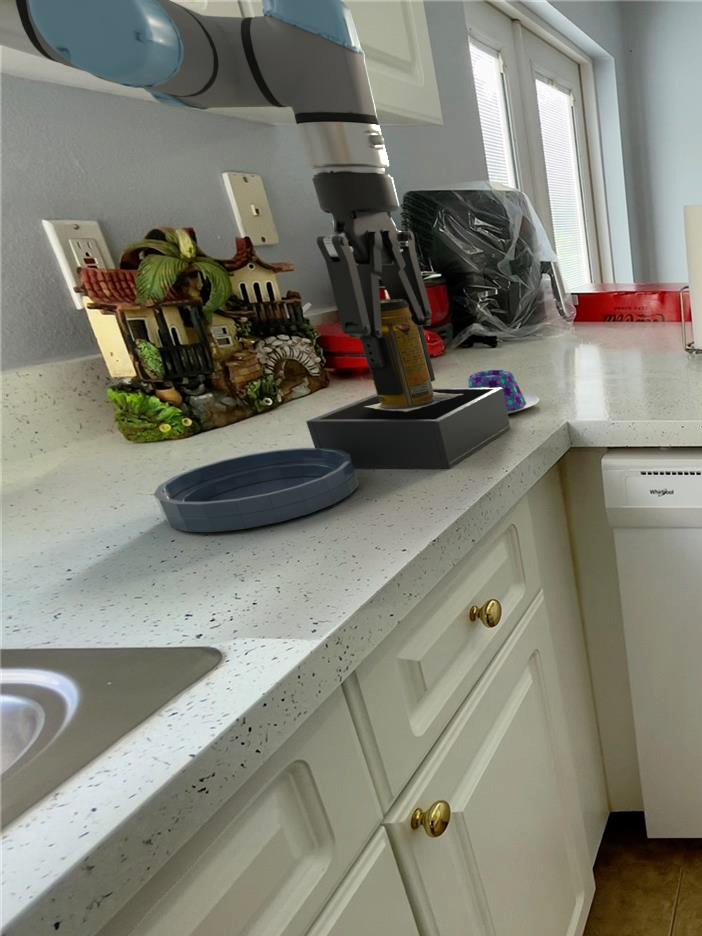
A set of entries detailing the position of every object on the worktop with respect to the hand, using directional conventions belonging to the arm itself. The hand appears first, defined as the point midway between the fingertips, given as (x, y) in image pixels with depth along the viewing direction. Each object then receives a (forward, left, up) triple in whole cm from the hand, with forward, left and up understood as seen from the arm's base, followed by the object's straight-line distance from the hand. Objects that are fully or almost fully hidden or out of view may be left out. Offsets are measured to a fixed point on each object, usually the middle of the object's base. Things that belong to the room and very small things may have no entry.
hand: (407, 387), depth 85 cm
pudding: (+1, +18, -8) cm, 20 cm away
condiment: (0, +1, -2) cm, 2 cm away
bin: (0, 0, -8) cm, 8 cm away
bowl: (-6, -18, -8) cm, 20 cm away
